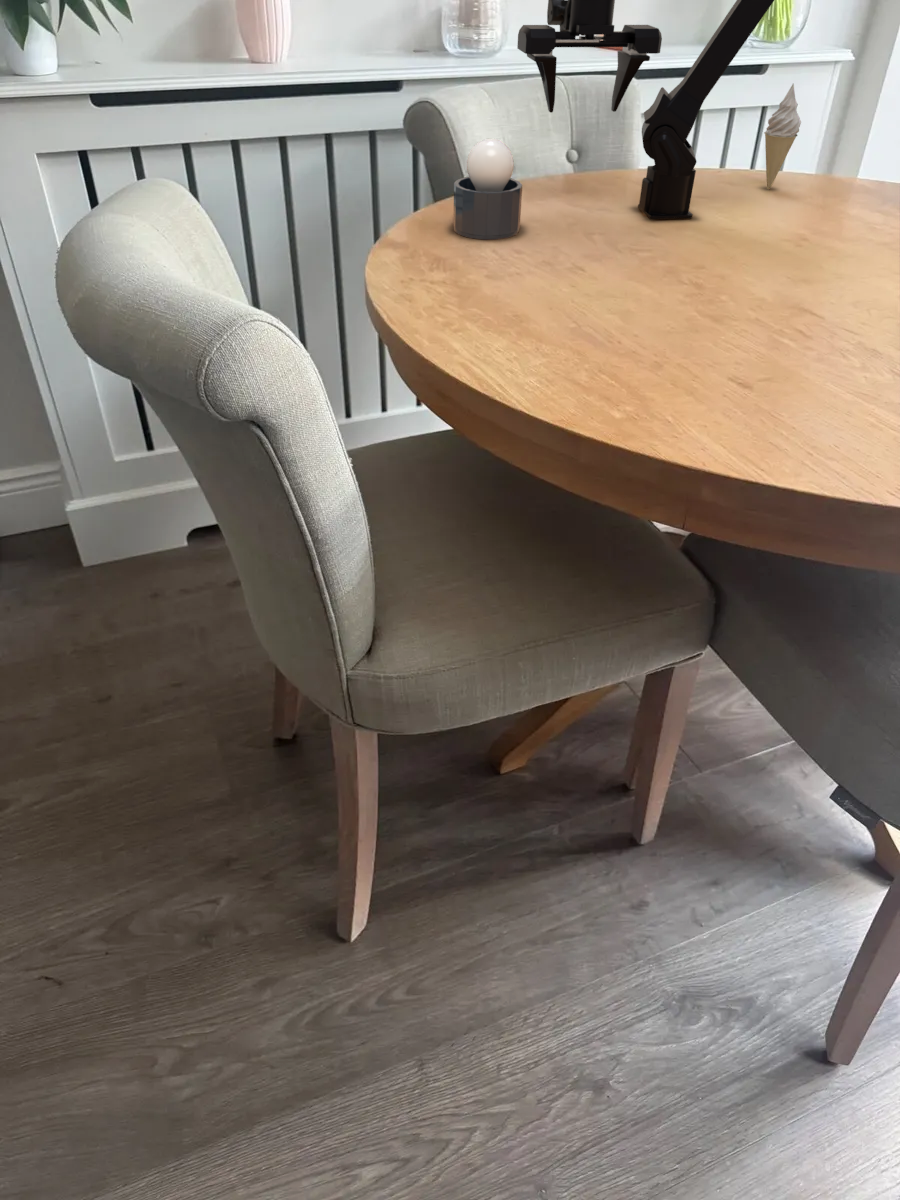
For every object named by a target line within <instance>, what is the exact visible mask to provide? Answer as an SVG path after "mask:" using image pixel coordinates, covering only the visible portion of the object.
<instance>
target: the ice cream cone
mask: <svg viewBox="0 0 900 1200" xmlns="http://www.w3.org/2000/svg"><path fill="white" fill-rule="evenodd" d="M798 105H799V104H798V102H797V100H796V94H795V84H794V83H792V84H791V86H790V88H789V89H788V91H787V92H786V95H785V96H784V98H783V99H782V101H780V102H779V108H778V109H777V110H776V111H775V112H773V113H772V114H771V117H769V119H768V121H767V124H768V126H767V127H766V130H765V131H764V132H763V134H764V138H765V139H764V140H765V141H764V143H765V144H764V145H765V147H764V149H765V173H766V174H765V176H766V179H765V180H766V190H770V189H771V188H772V185H773V184H774V182H775V180H776V178H777V176H778V174H779V172H780V170H781V168H782V166H783V164H784V162H785V160H786V158H787V156H788V153H789V152H790V150H791V147H792V146H793V144H794V142H795V140H796V138H797V137H798V133H799V132H800V127H801V125H802V121H801V118H800V116H799V113H798V111H797V107H798Z"/></svg>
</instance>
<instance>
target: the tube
mask: <svg viewBox="0 0 900 1200" xmlns="http://www.w3.org/2000/svg"><path fill="white" fill-rule="evenodd" d="M522 197H523V183H521V182H520V181H519V180H518V179H515V178H513V177H511V178H510V180H509V181H508V183H507V184H506V186H505V188H504V189H503V191H499V192H484V191H476V189H475V187H474V185H473V183H472V182H471V180H470V178H469V176H465V177H461V178H459V179H456V181H454V182H453V212H452V213H453V221H452V222H453V223H452V225H453V231H454V232H455V233H456V234H457V235H460V236H462V237H464V238H469V239H475V240H485V241H487V240H490V241H491V240H492V241H493V240H503V239H508V238H511V237H514V236H517V234H519V232H520V227H521V214H522V213H521V212H522Z"/></svg>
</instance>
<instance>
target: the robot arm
mask: <svg viewBox="0 0 900 1200" xmlns="http://www.w3.org/2000/svg"><path fill="white" fill-rule="evenodd" d="M615 1H616V0H547V11H546V23H547V24H523V25H522V26H521V27H520V28H519V30H518V34H517V45H516V46H517V47H516V49H517V50H519V51H521V52H522V53H524V54H525V55H526V57H527V58H529V59H530V60H532V61H533V62H534V63H535V64H536V66H537V69H538V72H539V75H540V78H541V82H542V87H543V90H544V91H543V92H544V95H545V96H544V97H545V101H546V106H547V110H548V112H549V113H553V112H554V110H555V109H554V108H555V103H556V83H557V81H556V79H557V59H558V58H557V56H555V55H553V50H554V49H555V48H622V50H617V68H616V74H615V80H614V85H613V90H612V97H611V107H610V109H611V112H617V110H618V108H619V107H620V104H621V102H622V100H623V98H624V96H625V94H626V92H627V90H628V88H629V86H630V84H631V82H632V80H633V79H634V77H635V76H636V74H637V72H638V71H639V69H641V66H642V64H643V63H644V62H649V61H650V60H651V56H650V55H648V54H655V55H657V54H660V53H661V48H662V42H663V37H662V36H663V35H662V31H661V30H660V29H659V28H658V27H655V26H652V25H650V24H624V25H623V28H622V30H621V31H619V30H617V31H616V30H615V25H614V24H613V21H614V13H615V12H614V11H615V3H616V2H615ZM774 2H775V0H735V2H734V4H733V5H732V6H731V8H730V9H729V11H728V12H727V14H726V15H725V17H724V18H723V20H722V21H721V23H720V25H718V27H717V29H716V30H715V31H714V33H713V34H712V36H711V37H710V39H709V40H708V41H707V43H706V44H705V47H704V48H703V49H702V51H701V52H700V54H699V55H698V57H697V58H696V59H695V61H694V63H693V64H692V65H691V67H690V68H689V70H688V72H687V73H686V74H685V76H684V77H683V78H682V80H681V81H680V82H679V83H678V84H677V85H676V86H675V87H674V88H673V89H672V90H671V91H670V92H668V91H667V89H665V88H664V87H663V86H662V87H660V89H659V91H658V93H657V95H656V97H655V99H654V101H653V103H652V104H651V105H650V107H649V108H648V109H647V110H645V111H644V112H643V118H644V121H643V123H642V126H641V138H642V147H643V150H644V152H645V155H647V156H648V157H649V158H650V159H652V160H653V163H654V165H647V169H646V174H645V175H646V176H645V177H643V178H642V181H641V189H640V195H639V202H638V204H637V209H639V210H640V211H641V212H642V213H643V214H644V215H645V216H646V217H648V218H649V219H650V220H672V219H674V220H675V219H692V218H693V216H694V214H693V213H692V212H691V211H690V207H691V206H690V205H691V200H692V196H693V190H694V183H695V177H696V172H697V169H695V166H696V165H697V158H696V156H695V152H694V149H693V146H692V145H691V143H690V142H689V141H688V140H687V139H688V137H689V135H690V133H691V131H692V129H693V127H694V125H695V123H696V120H697V119H698V115H699V112H700V110H701V108H702V106H703V104H704V101H705V100H706V99H707V97H708V96H709V94H710V93H711V91H712V90H713V88H714V87H715V86H716V84H717V83H718V81H719V80H720V79H721V77H722V76H723V75H724V73H725V71H726V70H727V68H728V67H729V66H730V64H731V63H732V61H733V60H734V58H735V57H736V56H737V55H738V53H739V52H740V50H741V49H742V48H743V46H744V44H745V43H746V42H747V40H749V39H748V38H749V37H750V36H751V34H752V33H753V31H754V30H755V29H756V27H757V26H758V24H760V21H762V19H763V17H764V16H765V14H766V13H767V12H768V10H769V9H770V7H771V6H772V4H773V3H774ZM553 26H559V31H556V28H555V27H553ZM576 37H578V38H576Z"/></svg>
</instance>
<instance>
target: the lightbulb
mask: <svg viewBox="0 0 900 1200" xmlns="http://www.w3.org/2000/svg"><path fill="white" fill-rule="evenodd" d="M514 160H515V159H514V156H513V153H512V151H511V148H509V146H508V145H507V144H506V142H505V143H504V142H503V141H502V140H500V139H498V138H484V139H482V140H479V141H478V142H477V143H476V144H474V145H473V147H472V148H471V149H470V151H469V153H468V156H467V159H466V172H467V176H468V177H469V178H470V180H471V182H472V183H473V185H474V187H475V189H476V191H484V192H499V191H503V189H504V188H505V186H506V184H507V183H508V181H509V180H510V178H512V175H513V172H514V167H515V161H514Z"/></svg>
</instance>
